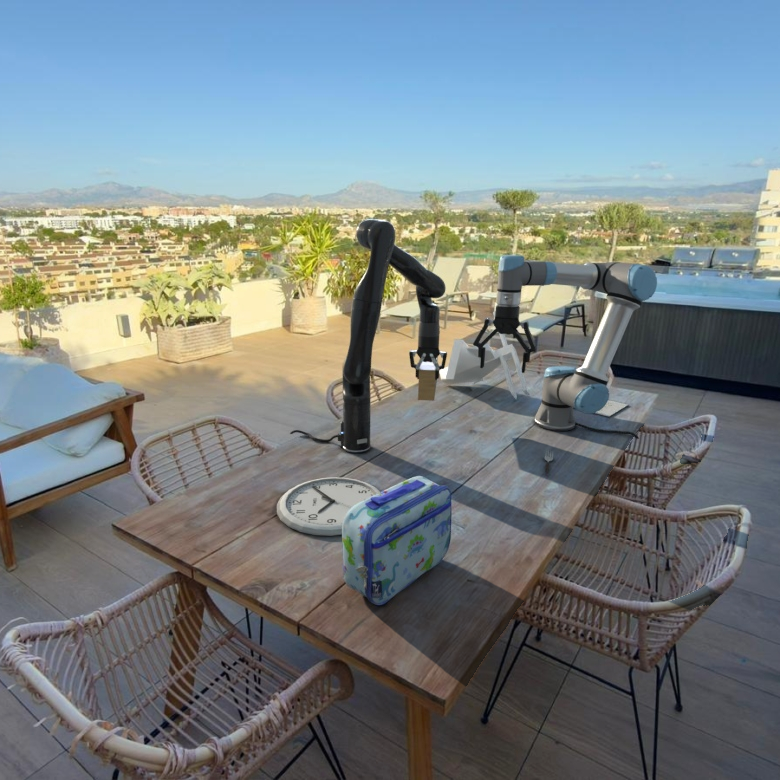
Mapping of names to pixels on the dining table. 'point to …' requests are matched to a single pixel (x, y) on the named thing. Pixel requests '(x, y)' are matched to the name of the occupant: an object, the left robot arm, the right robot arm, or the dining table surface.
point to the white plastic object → (468, 364)
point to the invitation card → (611, 408)
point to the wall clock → (322, 504)
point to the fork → (548, 460)
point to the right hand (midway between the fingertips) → (502, 369)
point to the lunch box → (395, 537)
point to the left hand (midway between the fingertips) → (427, 379)
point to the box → (427, 381)
